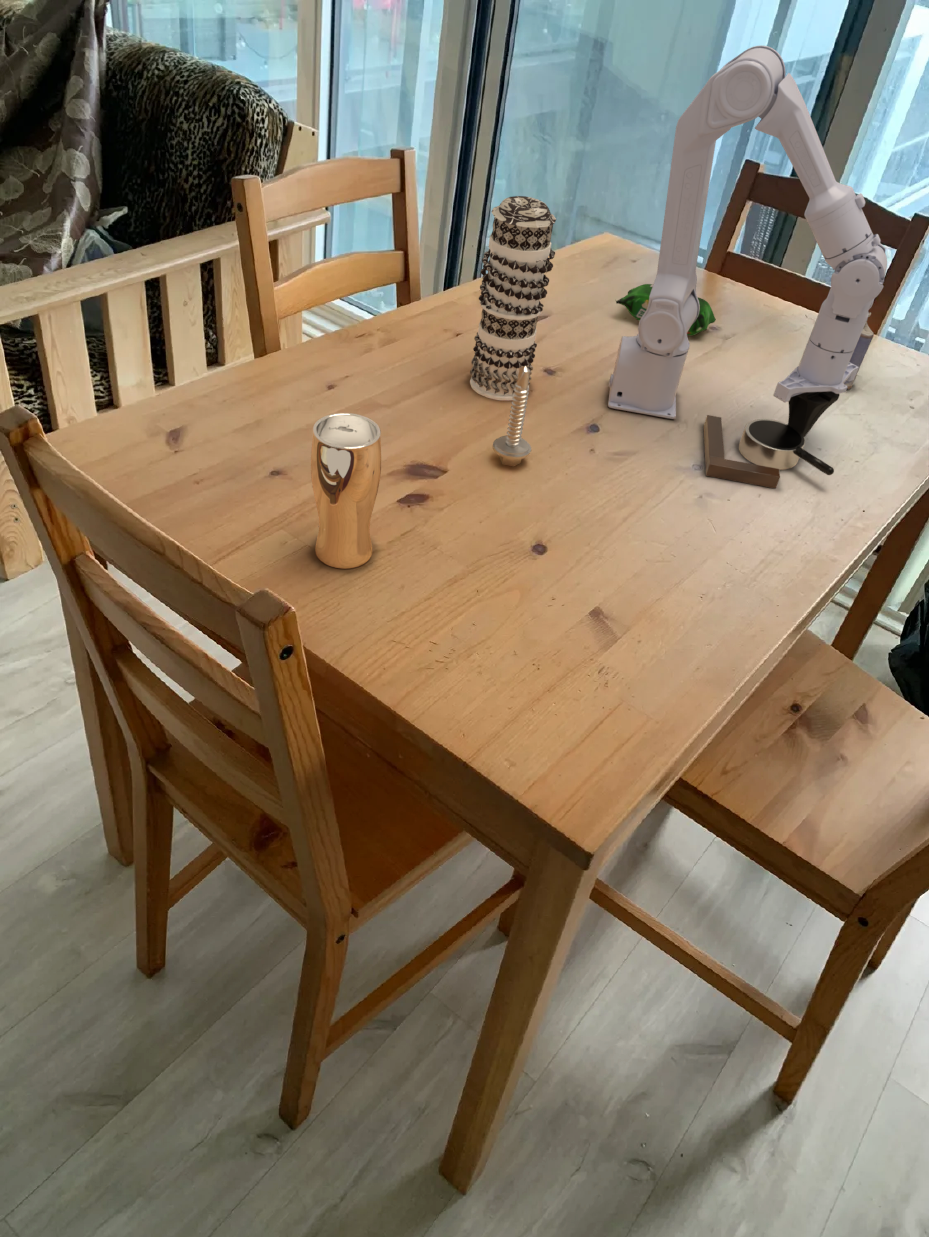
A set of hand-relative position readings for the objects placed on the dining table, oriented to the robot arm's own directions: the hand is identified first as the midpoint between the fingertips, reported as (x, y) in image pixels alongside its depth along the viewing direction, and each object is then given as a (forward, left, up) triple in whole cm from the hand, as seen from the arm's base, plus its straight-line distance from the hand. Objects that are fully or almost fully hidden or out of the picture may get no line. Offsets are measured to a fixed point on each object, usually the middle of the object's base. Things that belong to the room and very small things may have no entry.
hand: (795, 436), depth 127 cm
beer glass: (-52, -41, -2) cm, 66 cm away
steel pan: (-2, -6, -1) cm, 6 cm away
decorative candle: (-41, +2, -2) cm, 41 cm away
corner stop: (-8, -6, -1) cm, 10 cm away
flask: (+10, +25, -2) cm, 27 cm away
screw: (-37, -17, -2) cm, 41 cm away
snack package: (-18, +33, -2) cm, 38 cm away
